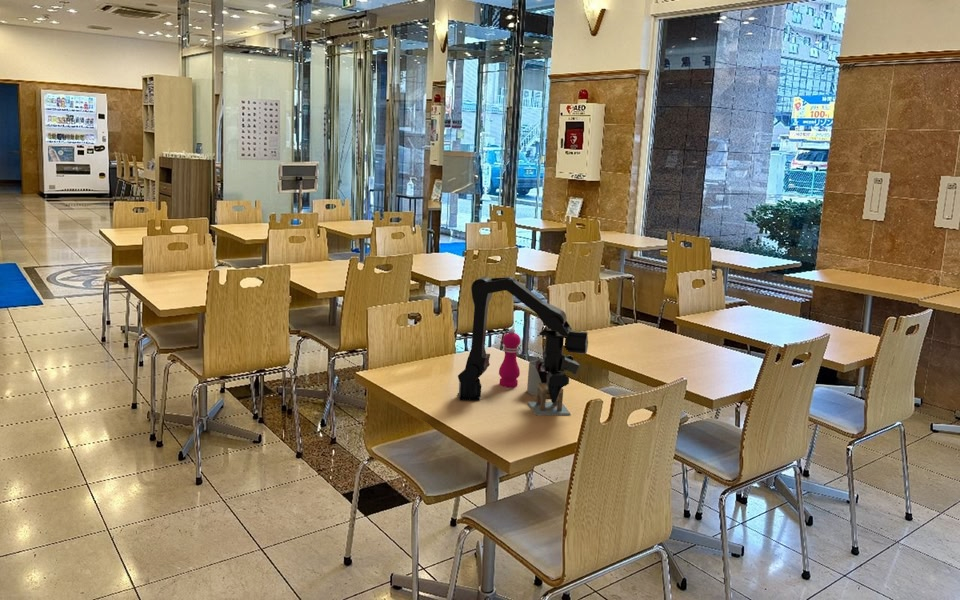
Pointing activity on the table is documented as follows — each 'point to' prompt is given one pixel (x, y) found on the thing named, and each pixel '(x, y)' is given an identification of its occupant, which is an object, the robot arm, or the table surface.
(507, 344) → the pepper mill
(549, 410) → the mat
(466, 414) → the table surface
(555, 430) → the table surface
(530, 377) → the cup
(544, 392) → the stool
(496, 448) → the table surface
